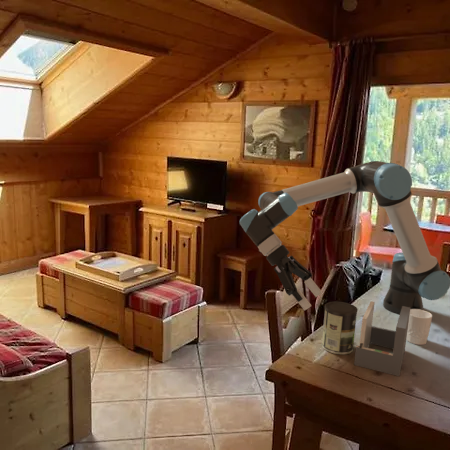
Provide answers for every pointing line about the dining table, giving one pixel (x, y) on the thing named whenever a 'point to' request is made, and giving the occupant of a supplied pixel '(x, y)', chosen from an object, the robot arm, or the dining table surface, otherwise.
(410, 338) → the white cup
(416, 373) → the dining table surface
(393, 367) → the grey u-shaped holder
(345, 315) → the coffee can
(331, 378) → the dining table surface
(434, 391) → the dining table surface
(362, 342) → the curved beige panel
